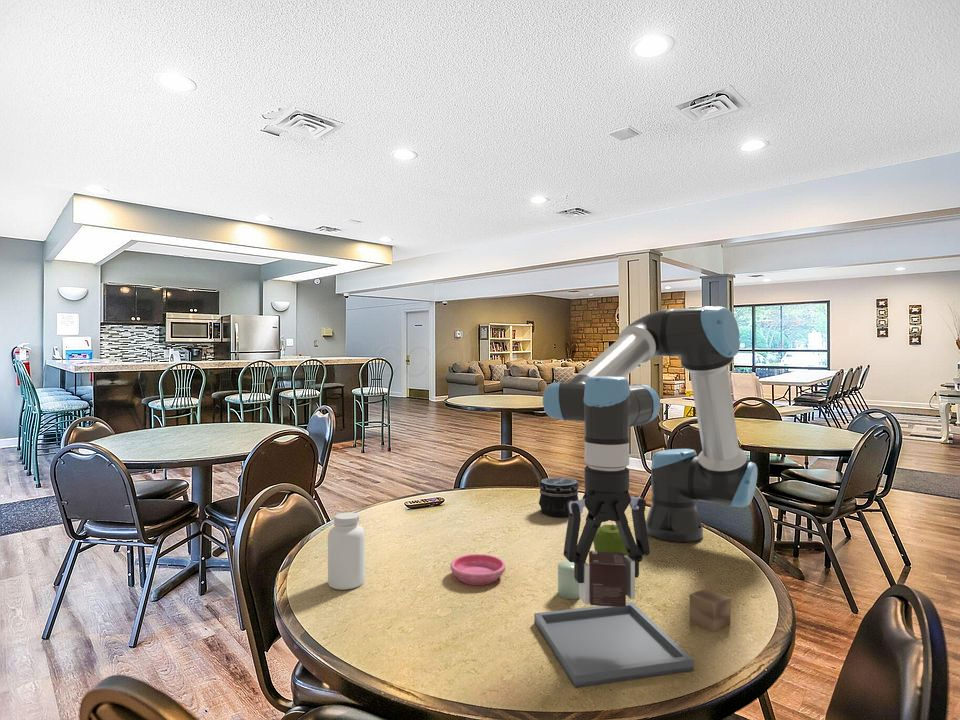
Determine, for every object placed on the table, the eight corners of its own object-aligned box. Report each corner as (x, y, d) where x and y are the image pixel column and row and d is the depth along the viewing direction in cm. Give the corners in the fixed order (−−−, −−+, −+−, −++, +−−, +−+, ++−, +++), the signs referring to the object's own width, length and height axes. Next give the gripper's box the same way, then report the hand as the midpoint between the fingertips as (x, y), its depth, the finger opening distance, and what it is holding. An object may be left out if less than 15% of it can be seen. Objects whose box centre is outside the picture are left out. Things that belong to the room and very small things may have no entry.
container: (539, 506, 178) (539, 476, 178) (578, 507, 176) (578, 476, 176) (538, 517, 165) (537, 485, 165) (580, 519, 163) (580, 486, 163)
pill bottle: (371, 578, 122) (371, 511, 121) (352, 593, 114) (351, 522, 114) (341, 573, 124) (340, 508, 124) (320, 588, 117) (319, 519, 116)
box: (626, 609, 89) (626, 565, 89) (589, 606, 91) (589, 562, 91) (623, 593, 95) (623, 552, 95) (588, 590, 97) (588, 549, 96)
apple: (585, 570, 125) (585, 521, 125) (615, 564, 128) (615, 516, 128) (609, 585, 117) (608, 532, 117) (640, 578, 120) (639, 527, 120)
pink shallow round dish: (478, 562, 131) (478, 549, 131) (516, 577, 122) (516, 563, 122) (439, 576, 122) (439, 563, 122) (477, 594, 113) (477, 579, 113)
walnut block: (706, 613, 104) (706, 588, 104) (730, 624, 100) (730, 598, 100) (689, 620, 101) (689, 594, 101) (713, 632, 97) (713, 604, 97)
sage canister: (576, 587, 116) (576, 559, 116) (585, 598, 111) (585, 569, 111) (554, 589, 115) (554, 562, 115) (562, 600, 110) (562, 571, 110)
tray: (632, 611, 105) (632, 602, 105) (693, 670, 85) (693, 659, 85) (534, 622, 101) (534, 613, 101) (574, 687, 81) (574, 675, 81)
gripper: (649, 459, 99) (649, 583, 99) (542, 464, 94) (543, 594, 95) (672, 467, 91) (672, 601, 91) (557, 473, 87) (558, 614, 87)
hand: (606, 597), depth 93 cm, fingers closed on box, 8 cm apart
